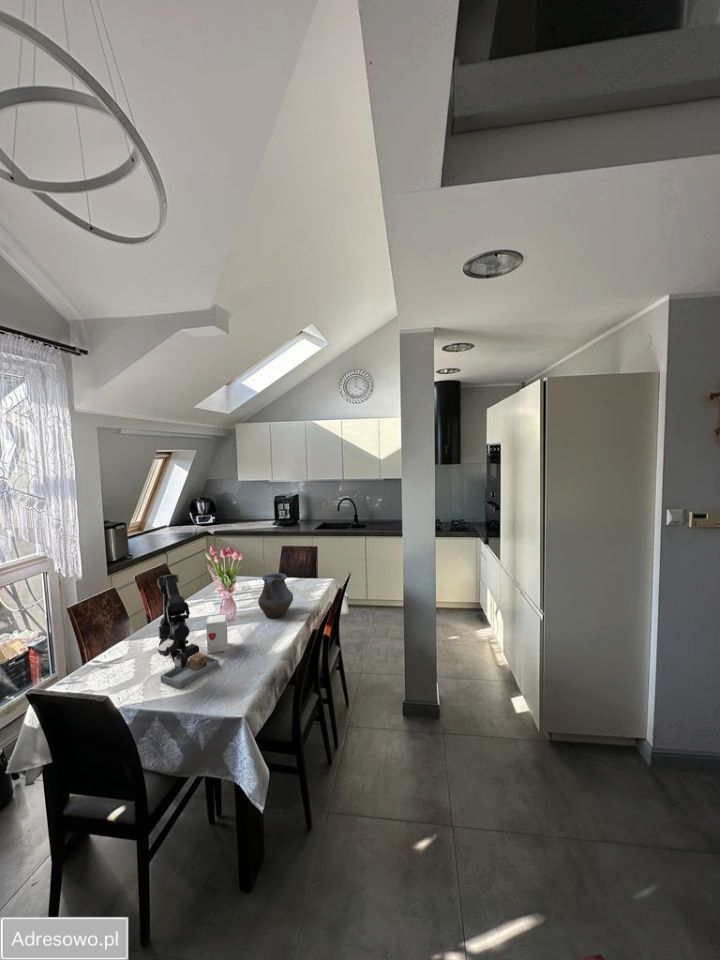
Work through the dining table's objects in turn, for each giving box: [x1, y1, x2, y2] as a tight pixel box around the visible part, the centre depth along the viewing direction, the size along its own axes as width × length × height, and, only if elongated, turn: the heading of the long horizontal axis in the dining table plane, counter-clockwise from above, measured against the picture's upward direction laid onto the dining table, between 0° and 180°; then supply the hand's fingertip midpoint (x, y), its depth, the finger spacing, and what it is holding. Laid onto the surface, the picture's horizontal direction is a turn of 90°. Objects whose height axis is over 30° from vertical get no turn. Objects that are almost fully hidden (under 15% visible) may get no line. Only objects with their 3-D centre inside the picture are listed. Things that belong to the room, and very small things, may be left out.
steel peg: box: [173, 652, 185, 672], centre depth 164 cm, size 4×4×6 cm
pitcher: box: [257, 572, 294, 619], centre depth 228 cm, size 21×22×25 cm
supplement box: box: [205, 614, 229, 654], centre depth 190 cm, size 9×9×15 cm
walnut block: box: [188, 652, 208, 671], centre depth 172 cm, size 5×5×5 cm
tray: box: [160, 655, 220, 690], centre depth 169 cm, size 20×12×3 cm, turn 152°
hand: (179, 666), depth 164 cm, fingers closed on steel peg, 4 cm apart
